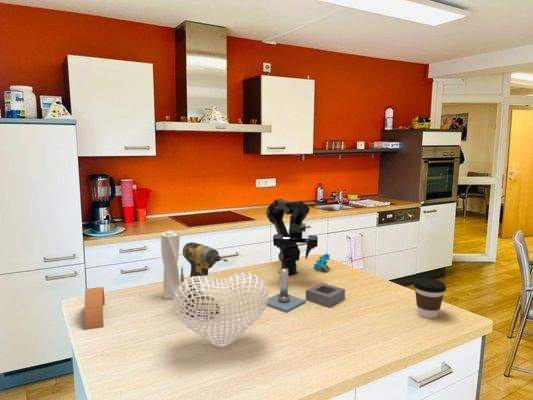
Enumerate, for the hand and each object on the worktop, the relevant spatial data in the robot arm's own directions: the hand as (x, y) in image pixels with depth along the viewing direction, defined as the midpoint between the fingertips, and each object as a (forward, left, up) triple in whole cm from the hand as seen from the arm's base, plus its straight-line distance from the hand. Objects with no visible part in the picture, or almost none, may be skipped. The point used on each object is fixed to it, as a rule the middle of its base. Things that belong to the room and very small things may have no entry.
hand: (294, 258), depth 163 cm
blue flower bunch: (-6, +30, -14) cm, 33 cm away
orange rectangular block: (-38, -66, -14) cm, 78 cm away
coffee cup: (+50, +13, -14) cm, 54 cm away
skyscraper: (-32, -38, -14) cm, 51 cm away
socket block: (+15, 0, -14) cm, 20 cm away
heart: (+11, -51, -14) cm, 54 cm away
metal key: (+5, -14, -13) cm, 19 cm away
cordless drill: (-10, -40, -14) cm, 43 cm away
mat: (+5, -14, -14) cm, 20 cm away
